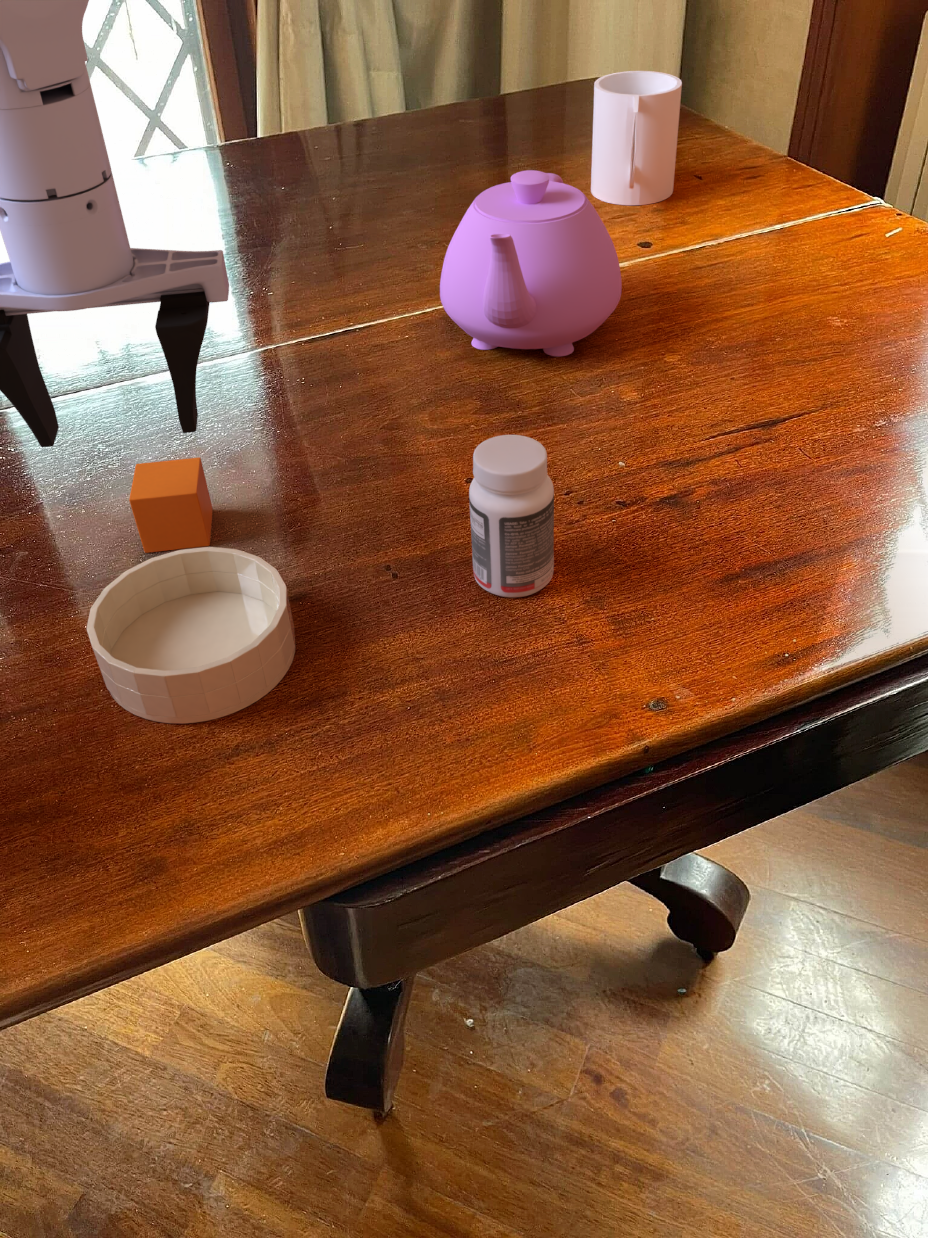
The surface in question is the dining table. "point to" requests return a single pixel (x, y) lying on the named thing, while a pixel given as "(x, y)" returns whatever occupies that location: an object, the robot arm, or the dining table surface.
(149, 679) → the bowl
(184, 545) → the block
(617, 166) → the cup
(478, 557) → the pill bottle
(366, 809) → the dining table surface
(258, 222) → the dining table surface
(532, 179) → the teapot
